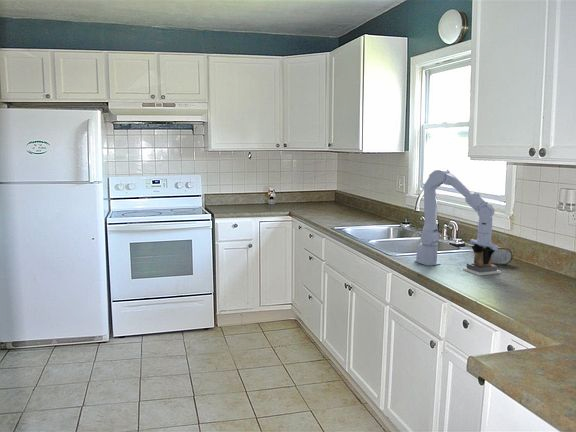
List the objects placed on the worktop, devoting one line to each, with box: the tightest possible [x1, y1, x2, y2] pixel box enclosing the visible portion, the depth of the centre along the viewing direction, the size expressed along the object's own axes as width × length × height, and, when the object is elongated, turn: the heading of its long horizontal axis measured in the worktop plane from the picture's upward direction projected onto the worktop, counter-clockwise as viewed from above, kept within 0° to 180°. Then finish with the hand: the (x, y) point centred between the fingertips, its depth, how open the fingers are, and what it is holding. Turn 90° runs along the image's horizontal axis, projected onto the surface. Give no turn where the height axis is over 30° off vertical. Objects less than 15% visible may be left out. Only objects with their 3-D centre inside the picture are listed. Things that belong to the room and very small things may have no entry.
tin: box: [484, 245, 514, 266], centre depth 252 cm, size 15×3×8 cm, turn 80°
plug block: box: [473, 252, 492, 267], centre depth 237 cm, size 4×6×6 cm, turn 115°
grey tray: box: [462, 262, 501, 276], centre depth 238 cm, size 10×12×3 cm
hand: (482, 262), depth 237 cm, fingers closed on plug block, 4 cm apart
